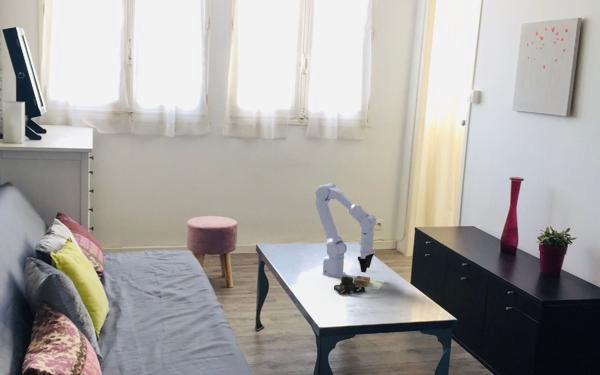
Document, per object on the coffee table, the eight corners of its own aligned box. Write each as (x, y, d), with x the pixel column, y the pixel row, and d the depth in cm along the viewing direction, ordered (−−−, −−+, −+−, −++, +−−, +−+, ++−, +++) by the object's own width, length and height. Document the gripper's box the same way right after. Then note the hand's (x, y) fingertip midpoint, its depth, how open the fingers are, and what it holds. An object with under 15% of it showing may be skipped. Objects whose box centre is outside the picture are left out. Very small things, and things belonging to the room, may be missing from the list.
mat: (339, 285, 289) (339, 284, 288) (347, 276, 302) (347, 275, 302) (378, 290, 283) (378, 289, 283) (385, 281, 296) (385, 280, 296)
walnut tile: (357, 280, 295) (353, 285, 288) (357, 275, 294) (353, 279, 288) (370, 282, 293) (366, 286, 286) (370, 277, 292) (366, 281, 286)
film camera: (361, 275, 286) (366, 276, 277) (362, 292, 286) (367, 293, 276) (331, 277, 285) (336, 278, 275) (332, 294, 284) (337, 295, 274)
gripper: (372, 246, 285) (370, 275, 287) (378, 239, 298) (377, 266, 301) (356, 244, 287) (355, 273, 289) (364, 237, 300) (362, 264, 303)
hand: (365, 269), depth 295 cm, fingers open, 7 cm apart
